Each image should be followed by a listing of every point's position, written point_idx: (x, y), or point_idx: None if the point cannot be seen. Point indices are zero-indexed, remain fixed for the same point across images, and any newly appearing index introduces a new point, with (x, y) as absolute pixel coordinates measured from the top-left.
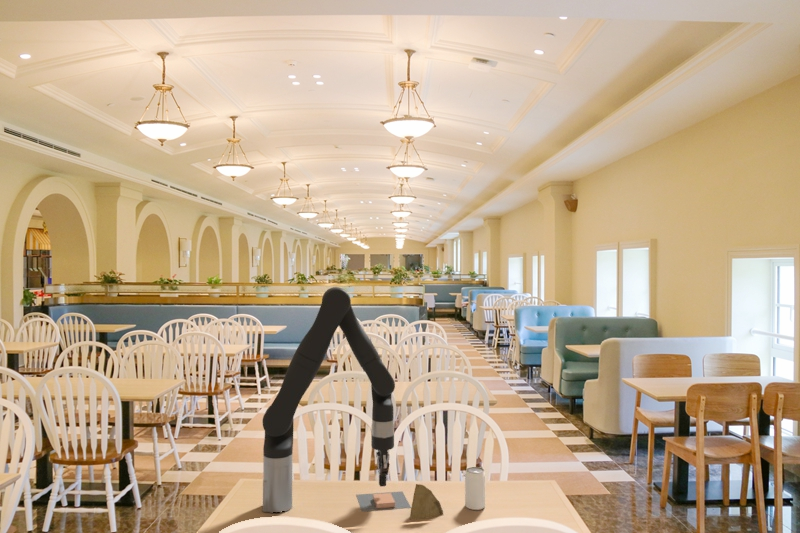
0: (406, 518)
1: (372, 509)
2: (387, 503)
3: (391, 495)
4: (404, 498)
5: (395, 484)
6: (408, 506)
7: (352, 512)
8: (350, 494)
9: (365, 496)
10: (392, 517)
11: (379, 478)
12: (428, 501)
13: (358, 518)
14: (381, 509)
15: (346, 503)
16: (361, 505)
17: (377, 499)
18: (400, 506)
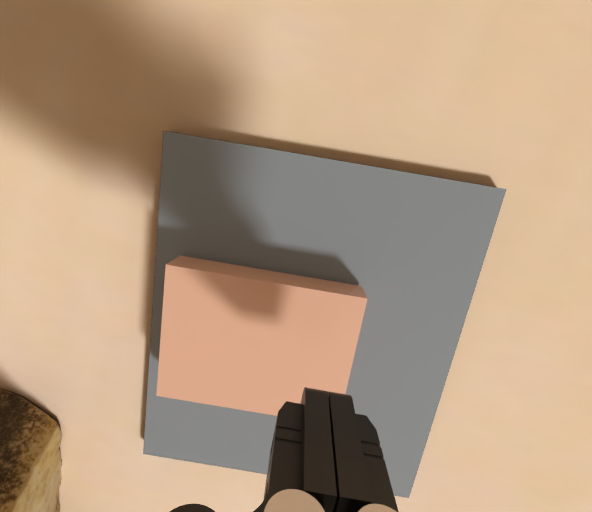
0: (34, 380)
1: (179, 222)
2: (160, 342)
3: None
4: None
5: (564, 500)
6: (165, 447)
7: (208, 67)
8: (562, 156)
9: (435, 249)
10: (63, 311)
11: (313, 447)
12: None
13: (90, 82)
14: (162, 282)
15: (397, 68)
16: (276, 165)
17: (248, 297)
18: (177, 407)
